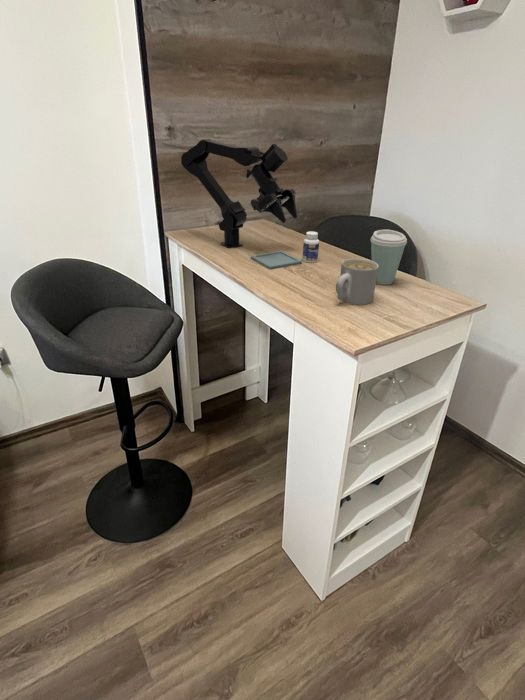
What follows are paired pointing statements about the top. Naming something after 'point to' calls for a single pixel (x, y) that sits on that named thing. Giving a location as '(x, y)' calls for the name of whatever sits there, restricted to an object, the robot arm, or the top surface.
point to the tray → (276, 259)
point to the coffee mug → (357, 281)
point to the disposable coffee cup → (387, 253)
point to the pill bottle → (310, 247)
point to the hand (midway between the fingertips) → (290, 220)
